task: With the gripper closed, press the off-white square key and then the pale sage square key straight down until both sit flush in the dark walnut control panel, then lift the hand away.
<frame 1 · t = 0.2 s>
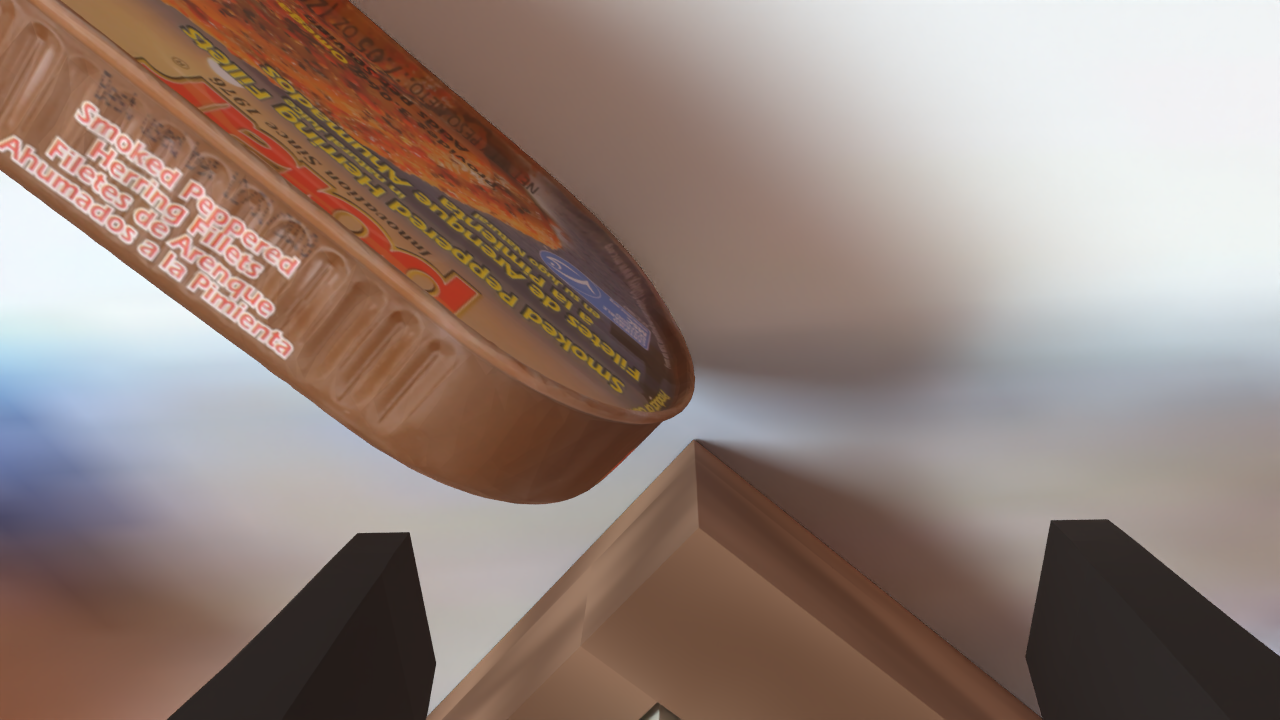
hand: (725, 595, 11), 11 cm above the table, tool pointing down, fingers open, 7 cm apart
tin: (379, 121, 20), on the table
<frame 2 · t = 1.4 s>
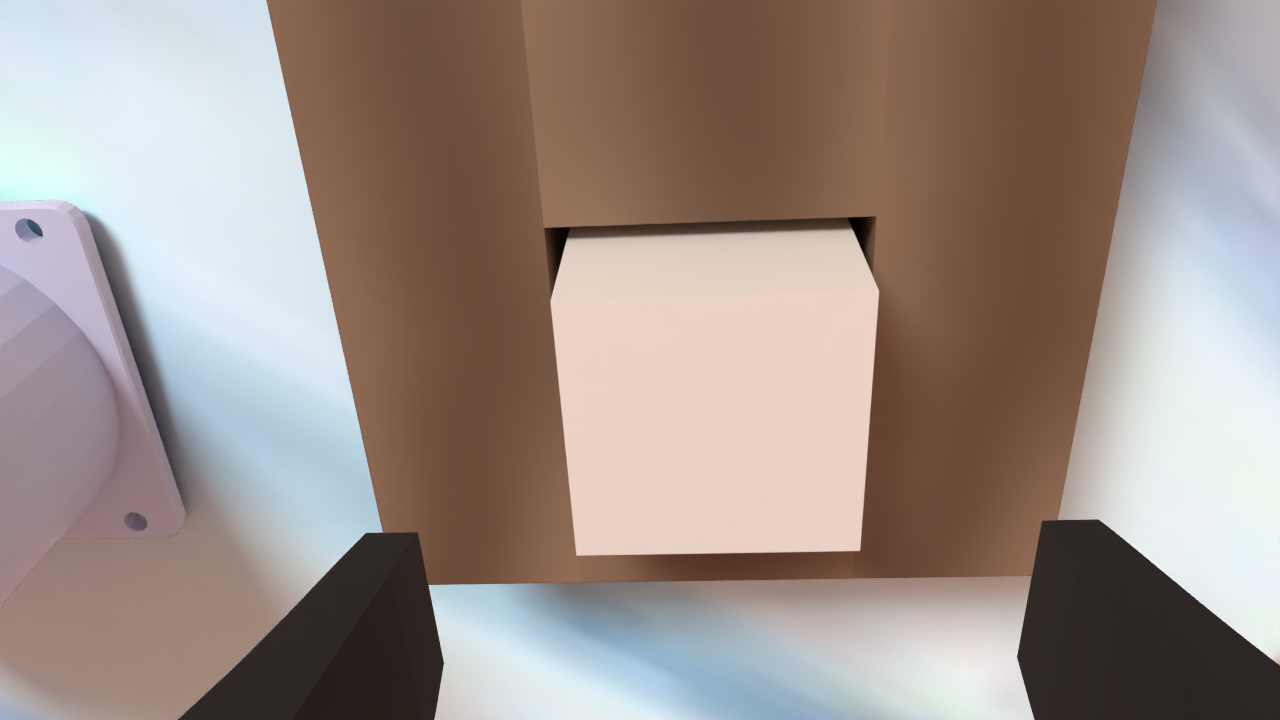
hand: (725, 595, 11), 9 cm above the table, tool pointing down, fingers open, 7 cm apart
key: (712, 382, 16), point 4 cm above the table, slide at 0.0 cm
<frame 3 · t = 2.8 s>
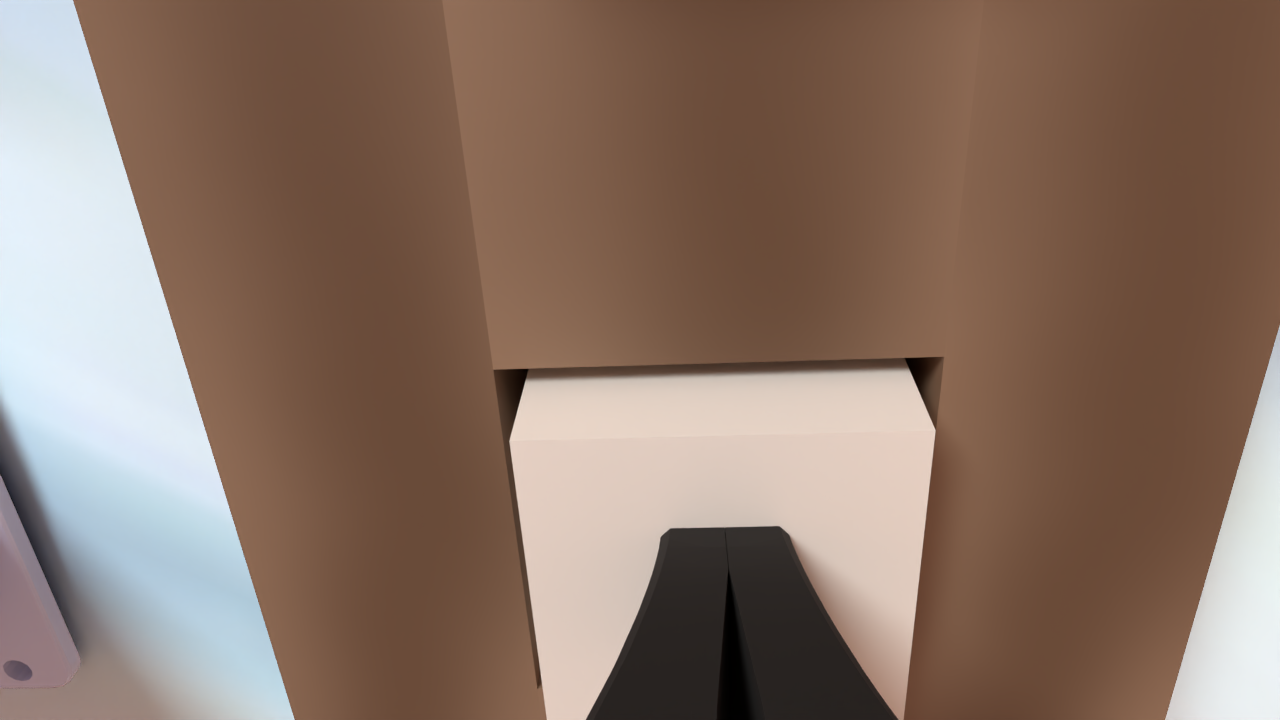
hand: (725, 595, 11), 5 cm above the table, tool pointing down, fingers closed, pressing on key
panel: (702, 18, 13), on the table
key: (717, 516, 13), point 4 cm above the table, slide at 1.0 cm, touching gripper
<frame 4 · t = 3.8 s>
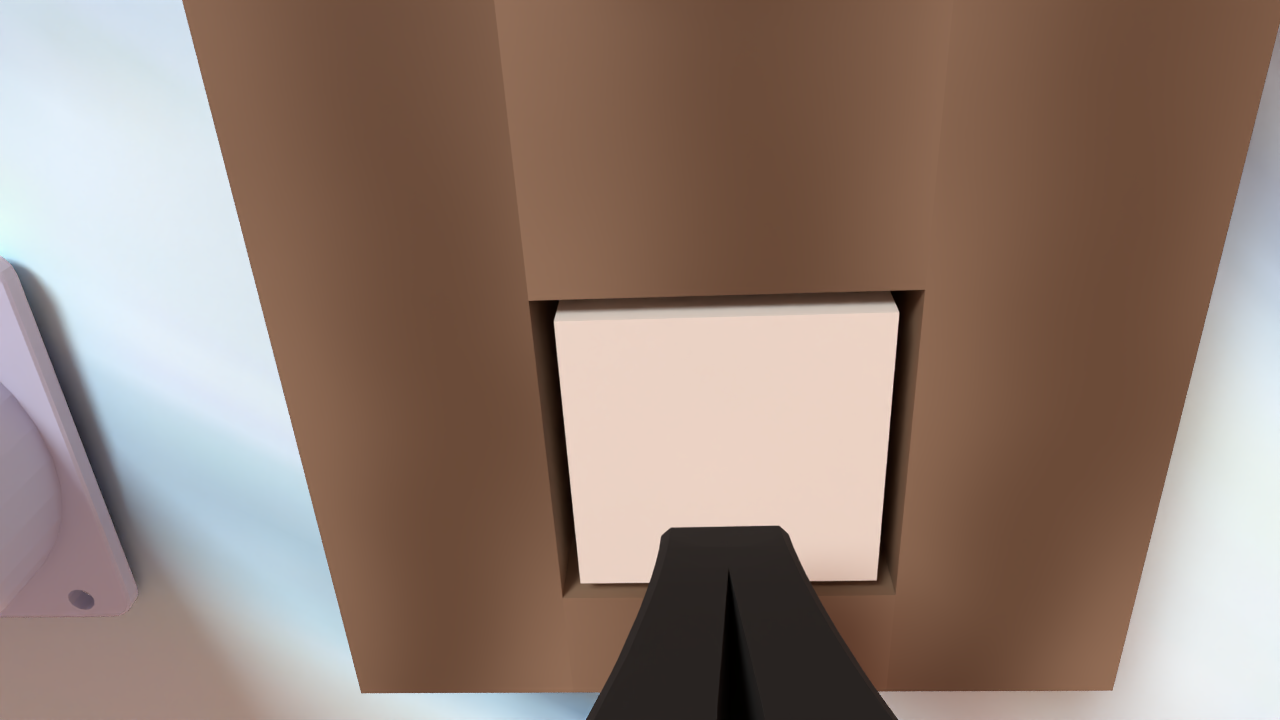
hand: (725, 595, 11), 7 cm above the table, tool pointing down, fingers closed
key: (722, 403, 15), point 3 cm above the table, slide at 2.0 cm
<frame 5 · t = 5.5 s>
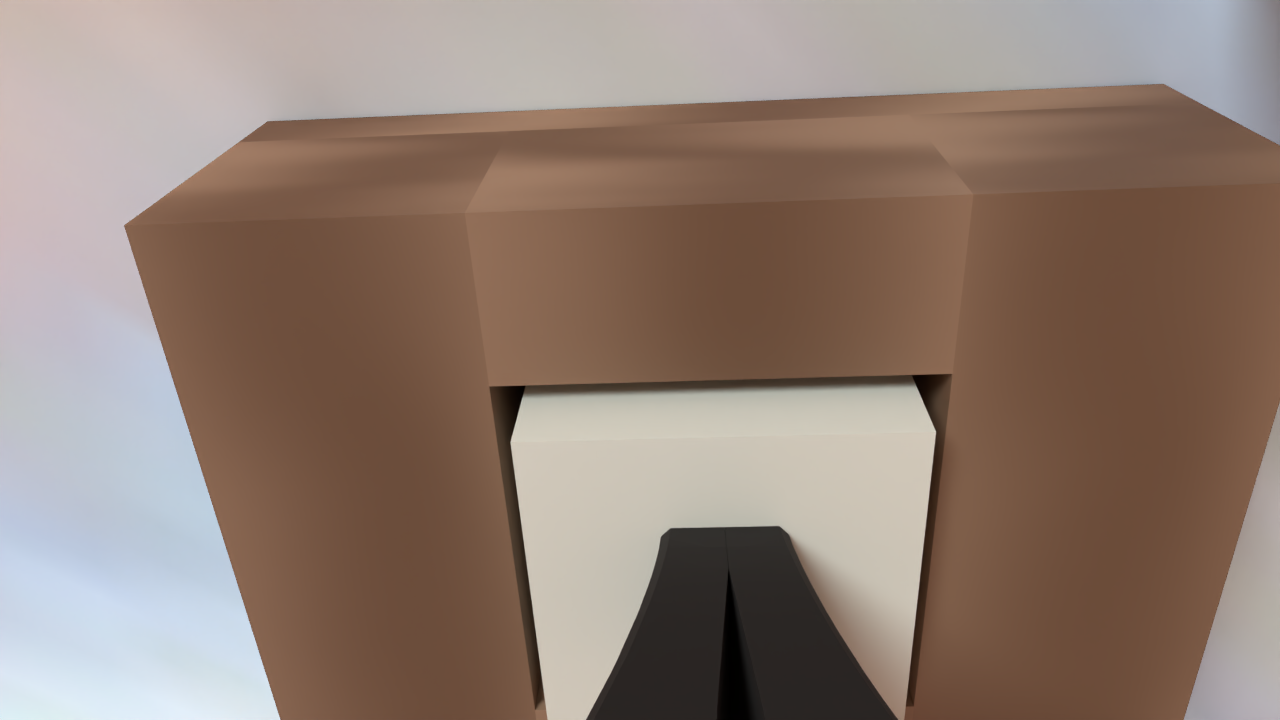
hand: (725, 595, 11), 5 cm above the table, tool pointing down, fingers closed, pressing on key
panel: (715, 652, 18), on the table
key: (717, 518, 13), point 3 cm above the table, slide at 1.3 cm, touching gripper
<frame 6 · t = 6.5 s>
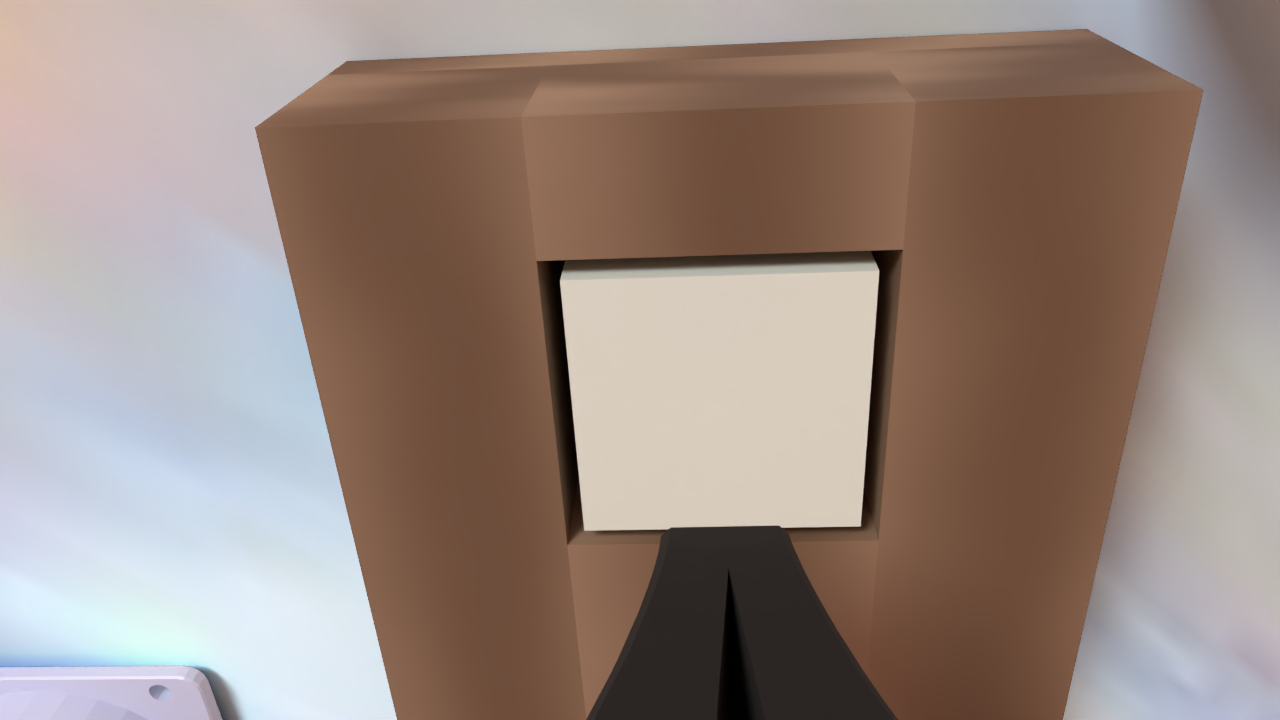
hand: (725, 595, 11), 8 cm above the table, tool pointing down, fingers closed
panel: (716, 532, 21), on the table
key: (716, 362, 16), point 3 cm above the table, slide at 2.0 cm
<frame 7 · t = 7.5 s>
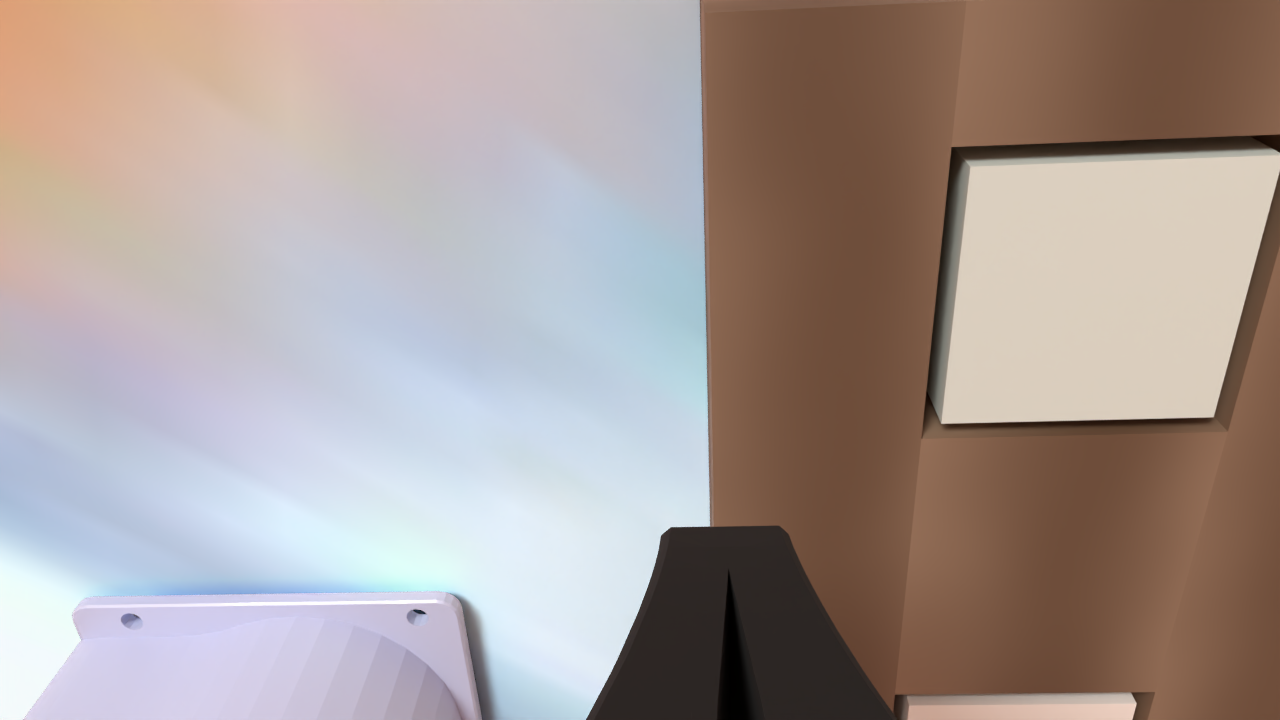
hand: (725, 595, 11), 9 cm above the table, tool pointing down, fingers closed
panel: (986, 451, 21), on the table
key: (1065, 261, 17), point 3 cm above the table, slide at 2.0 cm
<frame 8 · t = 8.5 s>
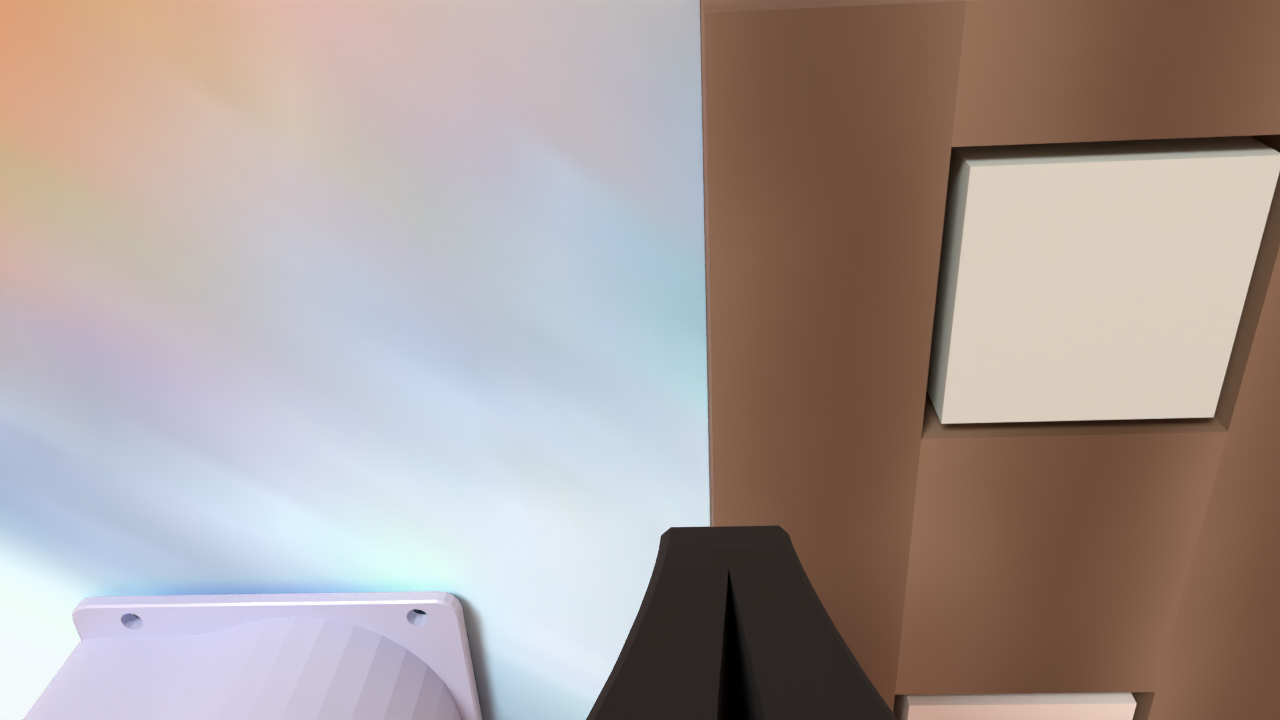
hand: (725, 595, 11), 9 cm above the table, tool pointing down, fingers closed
panel: (986, 451, 21), on the table
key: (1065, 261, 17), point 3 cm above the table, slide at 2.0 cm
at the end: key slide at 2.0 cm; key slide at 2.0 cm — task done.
